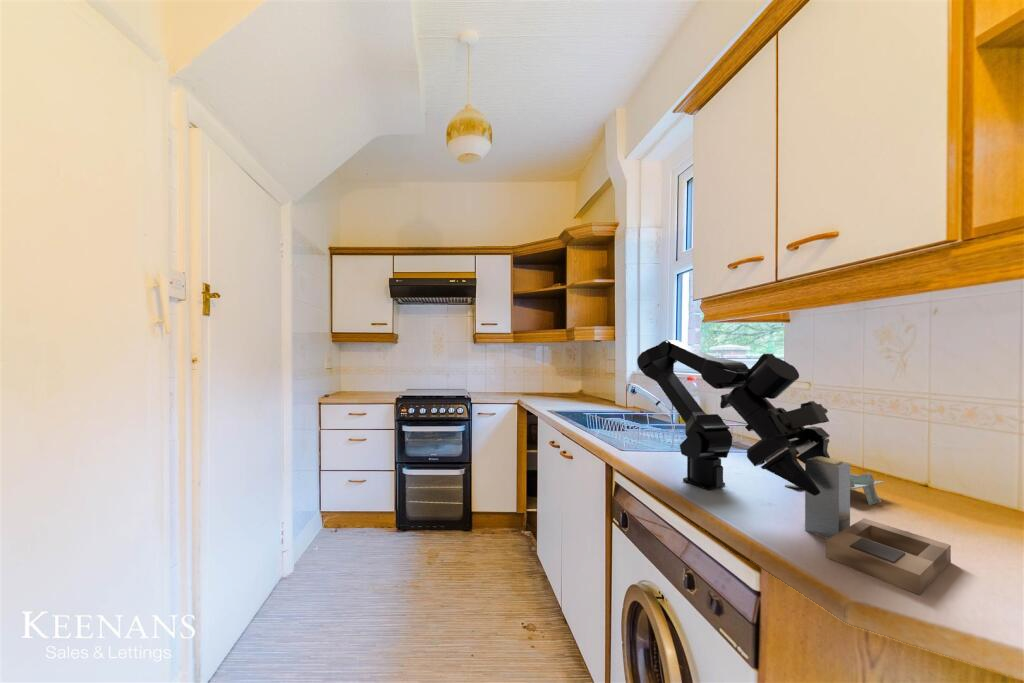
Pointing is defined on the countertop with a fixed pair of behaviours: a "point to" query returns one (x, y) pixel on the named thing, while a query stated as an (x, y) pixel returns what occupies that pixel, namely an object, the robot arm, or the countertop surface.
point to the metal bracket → (862, 482)
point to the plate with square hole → (890, 554)
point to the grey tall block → (828, 496)
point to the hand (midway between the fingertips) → (830, 489)
